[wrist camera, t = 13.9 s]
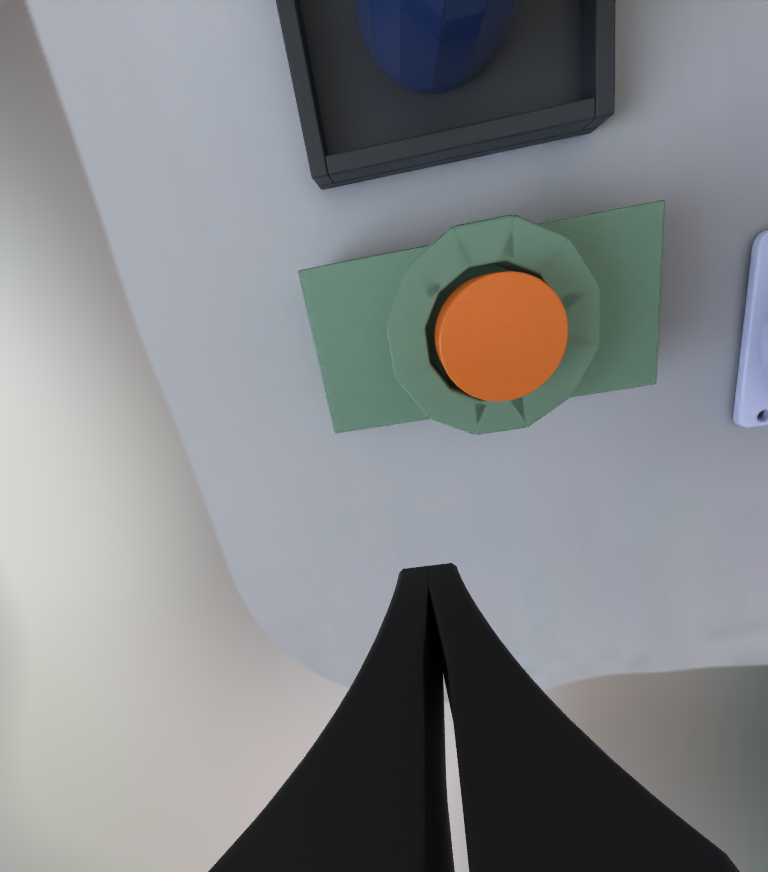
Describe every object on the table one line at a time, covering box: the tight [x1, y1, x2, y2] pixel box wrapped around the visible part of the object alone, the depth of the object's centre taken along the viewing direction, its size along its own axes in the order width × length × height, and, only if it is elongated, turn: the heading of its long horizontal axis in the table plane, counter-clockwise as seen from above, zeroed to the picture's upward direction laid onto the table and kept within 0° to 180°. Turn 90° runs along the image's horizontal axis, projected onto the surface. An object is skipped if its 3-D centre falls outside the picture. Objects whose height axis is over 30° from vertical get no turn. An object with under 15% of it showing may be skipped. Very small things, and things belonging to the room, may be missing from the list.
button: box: [434, 271, 568, 401], centre depth 12 cm, size 4×4×2 cm
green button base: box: [298, 200, 665, 435], centre depth 15 cm, size 12×6×5 cm, turn 100°
